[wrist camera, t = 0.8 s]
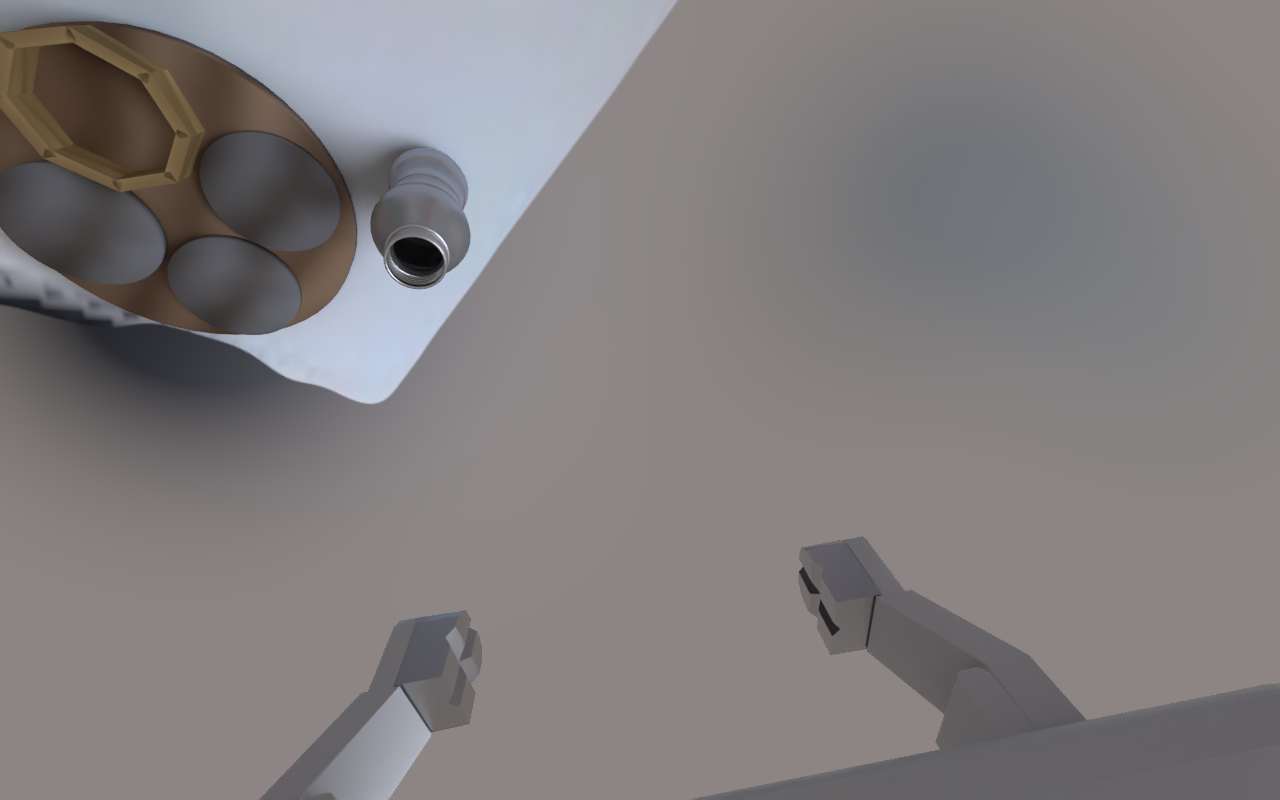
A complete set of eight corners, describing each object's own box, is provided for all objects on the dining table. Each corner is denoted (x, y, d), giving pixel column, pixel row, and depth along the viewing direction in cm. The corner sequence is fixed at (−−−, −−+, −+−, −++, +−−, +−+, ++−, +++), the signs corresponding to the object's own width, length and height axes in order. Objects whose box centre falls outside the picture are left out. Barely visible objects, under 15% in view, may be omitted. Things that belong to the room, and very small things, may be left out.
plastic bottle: (374, 166, 42) (327, 246, 27) (437, 127, 42) (424, 187, 27) (424, 228, 46) (408, 327, 32) (482, 193, 46) (492, 277, 31)
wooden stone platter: (-39, 239, 37) (-87, 262, 34) (0, -81, 29) (-61, -93, 25) (306, 360, 51) (295, 383, 48) (400, 167, 43) (394, 180, 39)
